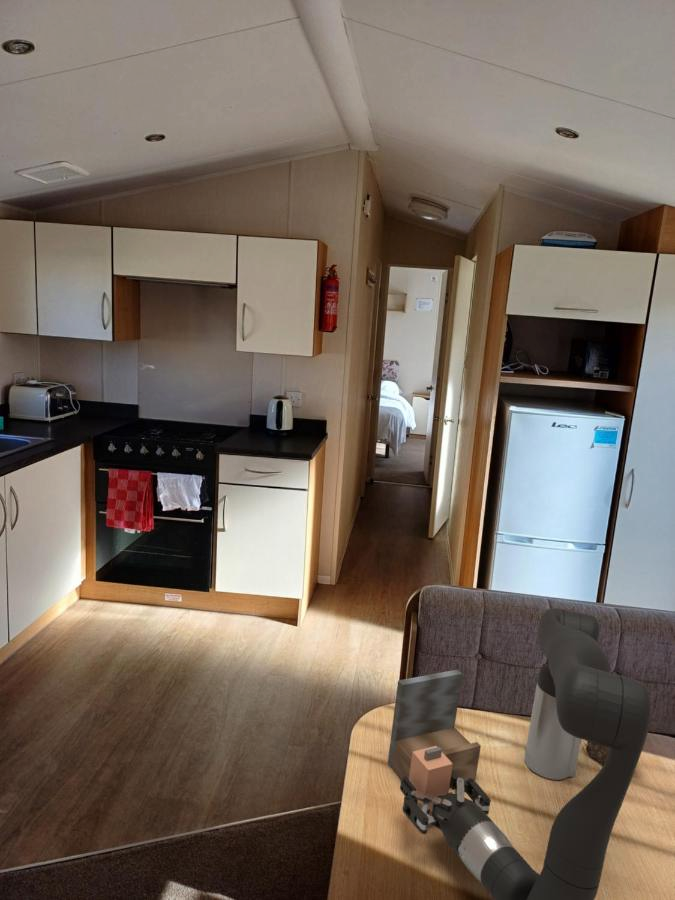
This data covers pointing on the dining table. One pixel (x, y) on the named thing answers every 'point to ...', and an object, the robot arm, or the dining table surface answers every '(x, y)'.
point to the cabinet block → (430, 772)
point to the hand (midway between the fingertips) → (423, 775)
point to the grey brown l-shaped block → (430, 724)
